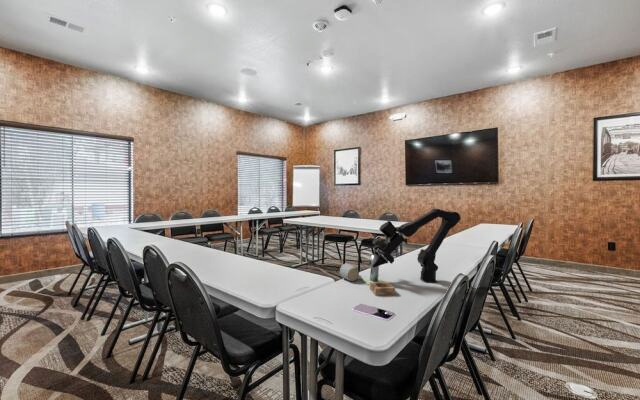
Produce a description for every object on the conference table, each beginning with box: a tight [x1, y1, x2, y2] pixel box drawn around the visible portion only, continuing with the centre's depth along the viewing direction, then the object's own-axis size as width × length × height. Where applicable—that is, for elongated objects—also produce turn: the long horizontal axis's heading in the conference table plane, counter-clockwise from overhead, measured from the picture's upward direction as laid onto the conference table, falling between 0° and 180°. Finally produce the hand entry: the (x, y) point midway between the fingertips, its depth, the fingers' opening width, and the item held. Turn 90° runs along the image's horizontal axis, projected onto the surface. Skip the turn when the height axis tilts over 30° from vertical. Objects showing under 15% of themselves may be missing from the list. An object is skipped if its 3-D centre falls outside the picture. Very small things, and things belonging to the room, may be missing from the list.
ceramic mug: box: [339, 262, 363, 282], centre depth 150 cm, size 11×8×8 cm
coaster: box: [361, 276, 385, 286], centre depth 147 cm, size 10×10×1 cm
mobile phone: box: [351, 303, 396, 322], centre depth 110 cm, size 8×1×15 cm
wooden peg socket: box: [369, 281, 396, 296], centre depth 132 cm, size 9×9×3 cm
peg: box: [369, 253, 380, 282], centre depth 147 cm, size 4×4×13 cm
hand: (371, 265), depth 147 cm, fingers open, 5 cm apart
